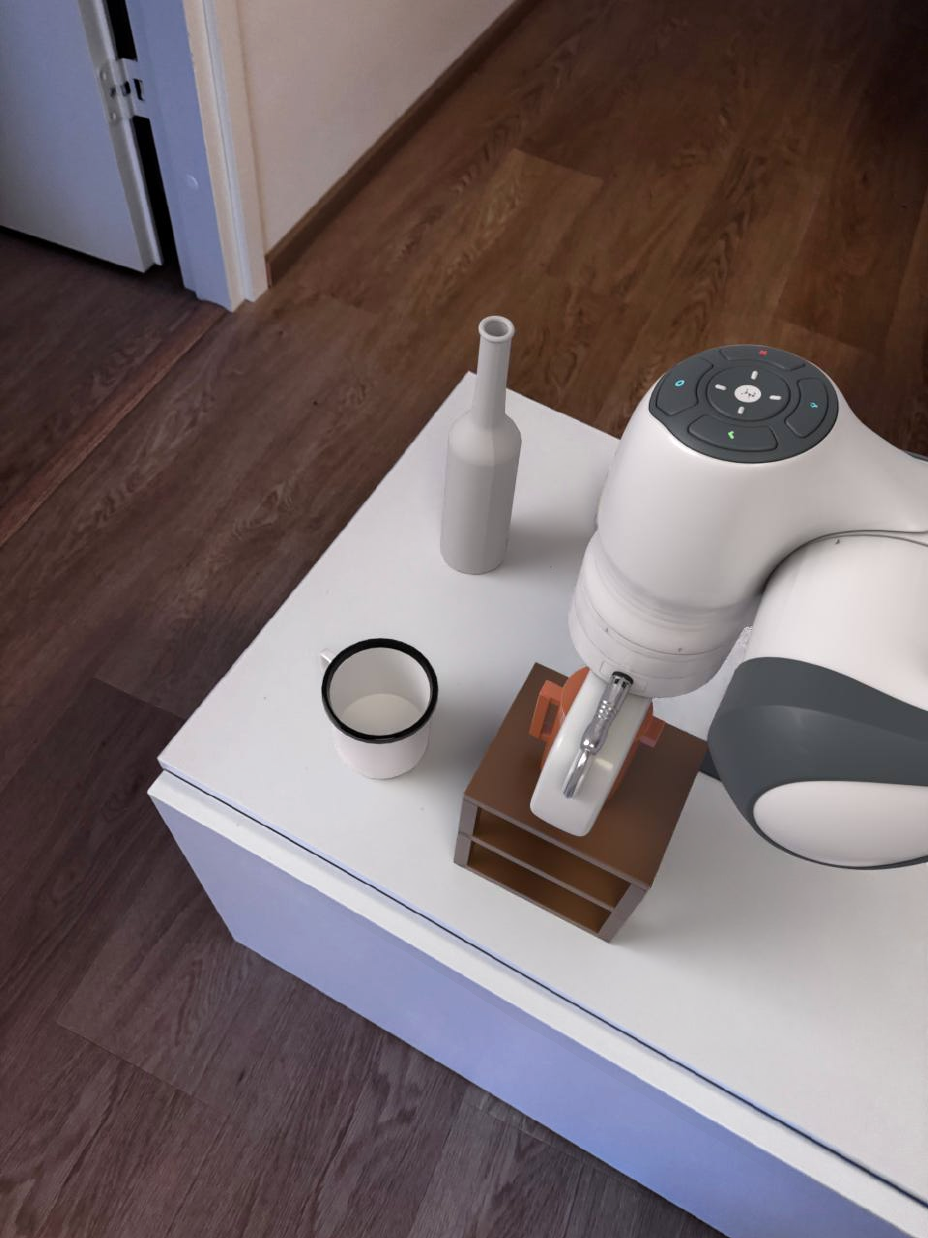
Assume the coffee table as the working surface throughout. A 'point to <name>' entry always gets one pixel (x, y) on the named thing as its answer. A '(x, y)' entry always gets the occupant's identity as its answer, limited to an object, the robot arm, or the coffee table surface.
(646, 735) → the orange two-handled pot
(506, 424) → the bottle
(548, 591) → the coffee table surface
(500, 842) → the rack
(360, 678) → the mug
